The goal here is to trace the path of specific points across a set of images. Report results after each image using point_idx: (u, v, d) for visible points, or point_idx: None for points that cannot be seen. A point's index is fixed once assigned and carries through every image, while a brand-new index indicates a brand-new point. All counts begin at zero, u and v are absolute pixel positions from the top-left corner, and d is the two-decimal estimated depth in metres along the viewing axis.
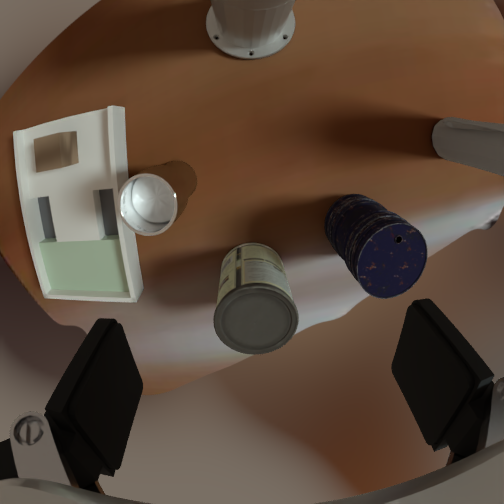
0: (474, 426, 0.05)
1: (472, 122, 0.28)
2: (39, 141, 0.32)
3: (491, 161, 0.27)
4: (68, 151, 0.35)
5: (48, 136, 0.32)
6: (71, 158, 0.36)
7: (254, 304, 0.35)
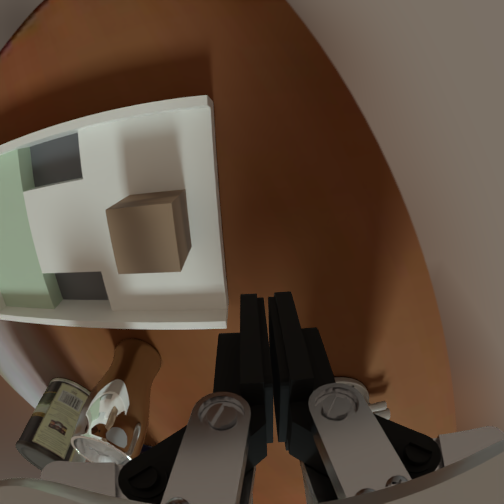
0: (294, 430, 0.06)
1: None
2: (165, 220, 0.20)
3: None
4: None
5: (174, 245, 0.20)
6: None
7: None
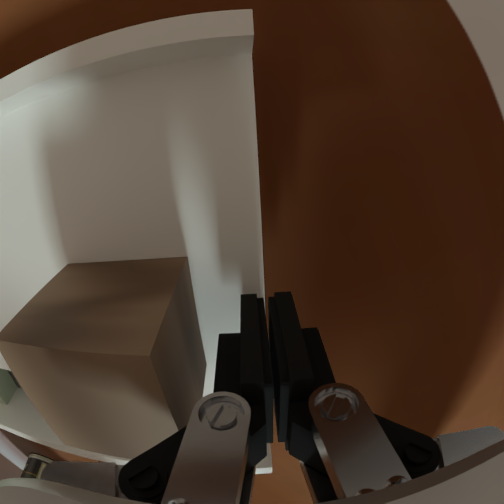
0: (294, 430, 0.06)
1: None
2: (140, 392, 0.06)
3: None
4: None
5: None
6: None
7: None
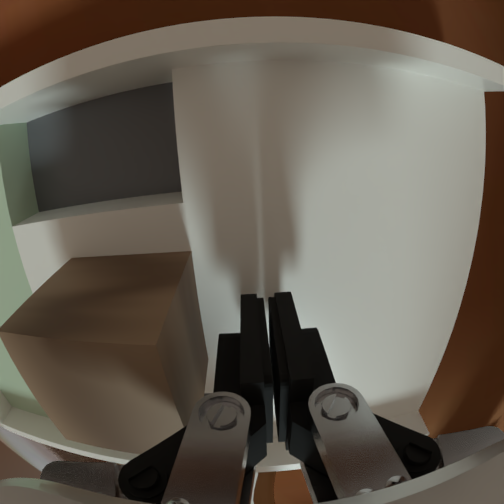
0: (294, 430, 0.06)
1: None
2: (145, 382, 0.06)
3: None
4: None
5: (177, 427, 0.07)
6: None
7: None
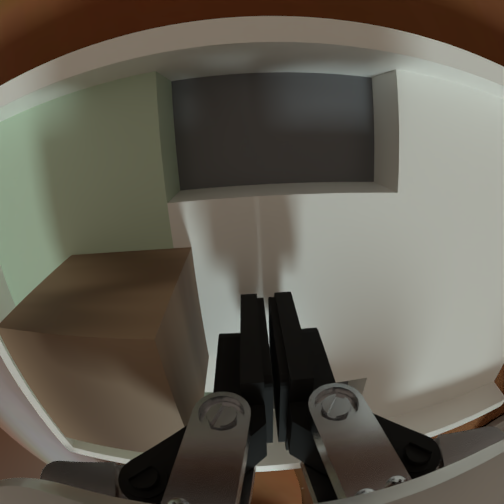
0: (294, 430, 0.06)
1: None
2: (144, 378, 0.06)
3: None
4: None
5: (176, 423, 0.07)
6: None
7: None
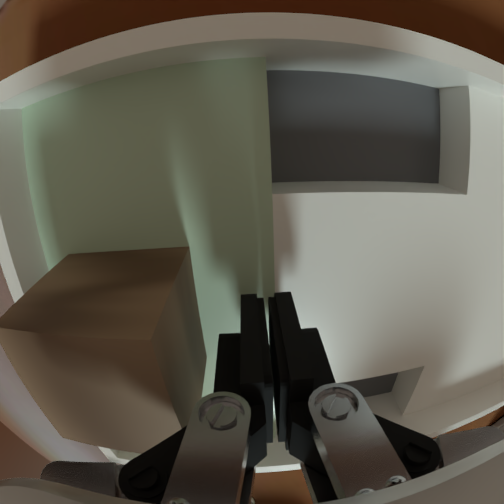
0: (294, 430, 0.06)
1: None
2: (140, 379, 0.06)
3: None
4: None
5: (173, 425, 0.07)
6: None
7: None
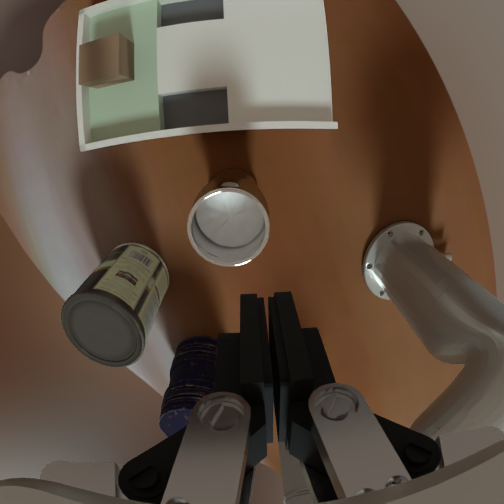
0: (294, 430, 0.06)
1: None
2: (113, 43, 0.23)
3: (291, 467, 0.40)
4: (103, 82, 0.26)
5: (116, 57, 0.24)
6: (97, 85, 0.27)
7: (121, 331, 0.29)
